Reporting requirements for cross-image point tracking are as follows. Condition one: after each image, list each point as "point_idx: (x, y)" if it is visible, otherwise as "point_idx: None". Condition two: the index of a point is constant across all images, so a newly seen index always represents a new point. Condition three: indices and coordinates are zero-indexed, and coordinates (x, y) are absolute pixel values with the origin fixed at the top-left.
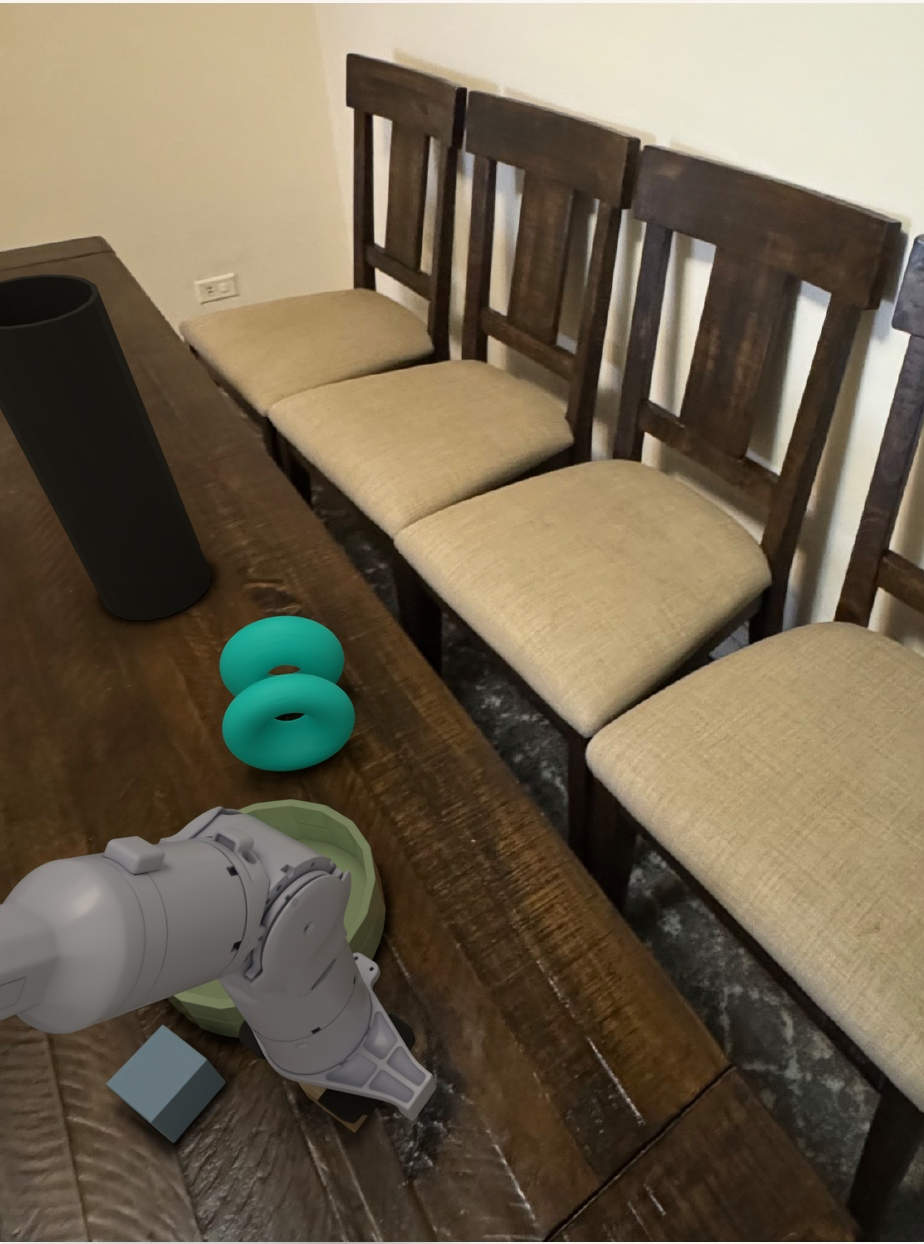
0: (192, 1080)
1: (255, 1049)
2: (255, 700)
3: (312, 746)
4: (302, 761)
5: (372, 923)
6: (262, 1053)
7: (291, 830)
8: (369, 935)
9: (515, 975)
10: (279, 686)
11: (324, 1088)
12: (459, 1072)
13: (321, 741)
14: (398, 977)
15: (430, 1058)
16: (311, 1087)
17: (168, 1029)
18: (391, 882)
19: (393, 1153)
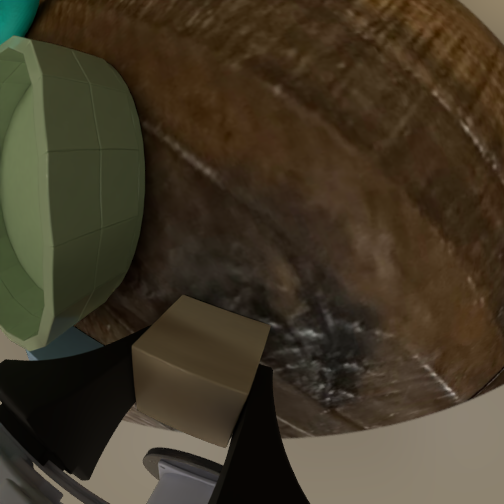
0: None
1: (72, 473)
2: None
3: (9, 18)
4: (12, 33)
5: (90, 141)
6: (82, 479)
7: (11, 90)
8: (101, 160)
9: (409, 122)
10: None
11: (184, 428)
12: (365, 305)
13: (11, 9)
14: (197, 182)
15: (312, 296)
16: (168, 425)
17: (29, 352)
18: (124, 54)
19: (303, 395)
